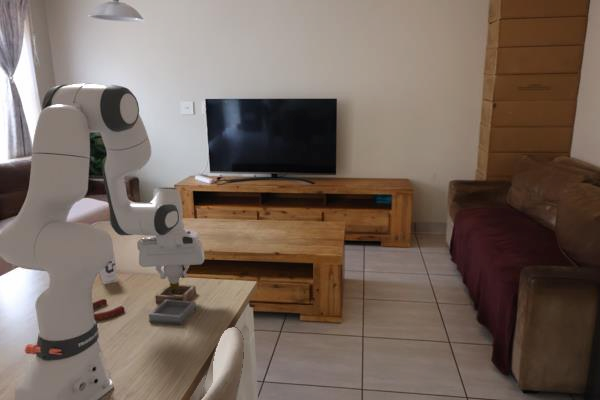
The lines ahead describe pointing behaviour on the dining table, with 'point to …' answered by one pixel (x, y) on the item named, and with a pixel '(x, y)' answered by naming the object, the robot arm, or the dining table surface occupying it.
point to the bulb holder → (185, 289)
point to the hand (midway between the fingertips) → (173, 277)
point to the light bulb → (173, 275)
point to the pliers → (108, 313)
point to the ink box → (109, 272)
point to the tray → (172, 312)
